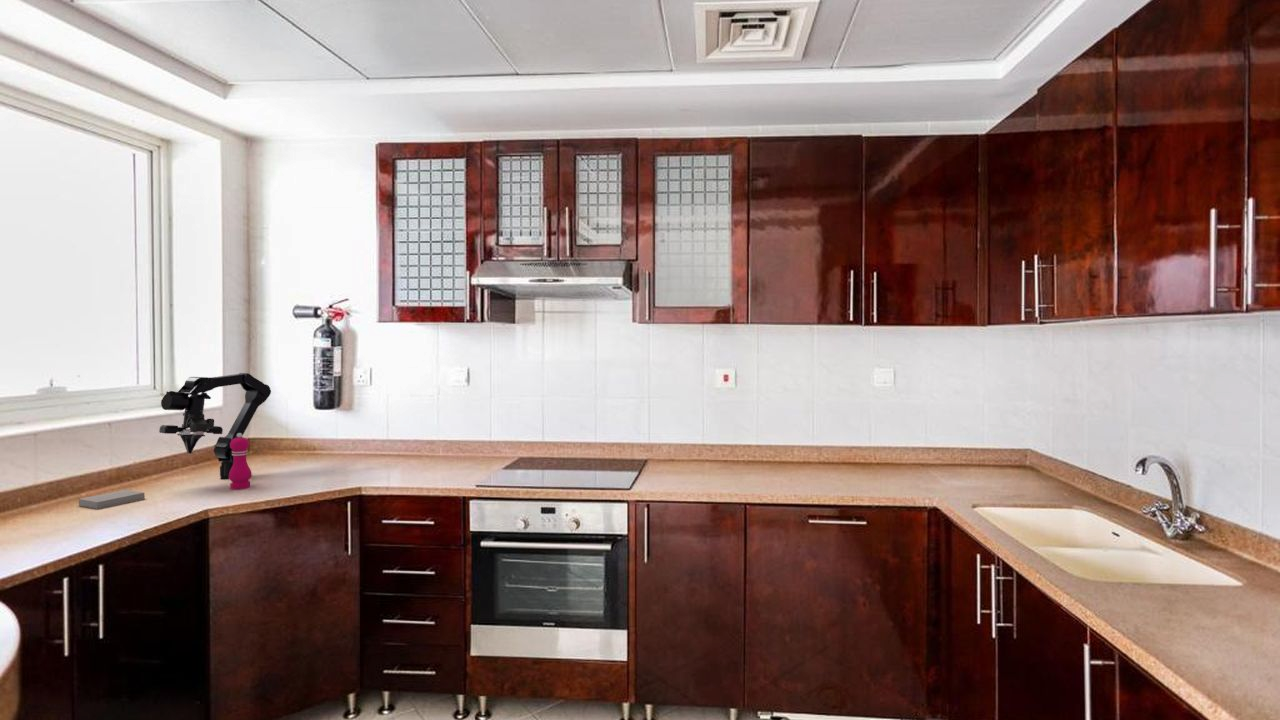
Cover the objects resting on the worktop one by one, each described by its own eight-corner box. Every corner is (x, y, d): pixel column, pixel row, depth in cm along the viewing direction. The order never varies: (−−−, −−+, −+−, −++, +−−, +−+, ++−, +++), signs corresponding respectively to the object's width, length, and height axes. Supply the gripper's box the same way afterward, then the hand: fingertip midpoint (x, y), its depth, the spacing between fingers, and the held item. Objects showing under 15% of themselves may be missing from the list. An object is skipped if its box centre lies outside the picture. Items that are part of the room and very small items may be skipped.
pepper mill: (227, 490, 236) (226, 435, 235) (229, 486, 242) (228, 432, 241) (251, 488, 239) (250, 433, 238) (252, 484, 245) (251, 431, 245)
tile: (126, 489, 227) (78, 498, 215) (144, 492, 224) (97, 502, 211) (126, 497, 228) (78, 507, 215) (144, 500, 224) (97, 510, 211)
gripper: (173, 410, 231) (168, 455, 230) (231, 412, 246) (226, 454, 245) (161, 409, 238) (156, 453, 236) (218, 411, 253) (213, 452, 251)
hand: (189, 453), depth 242 cm, fingers closed
